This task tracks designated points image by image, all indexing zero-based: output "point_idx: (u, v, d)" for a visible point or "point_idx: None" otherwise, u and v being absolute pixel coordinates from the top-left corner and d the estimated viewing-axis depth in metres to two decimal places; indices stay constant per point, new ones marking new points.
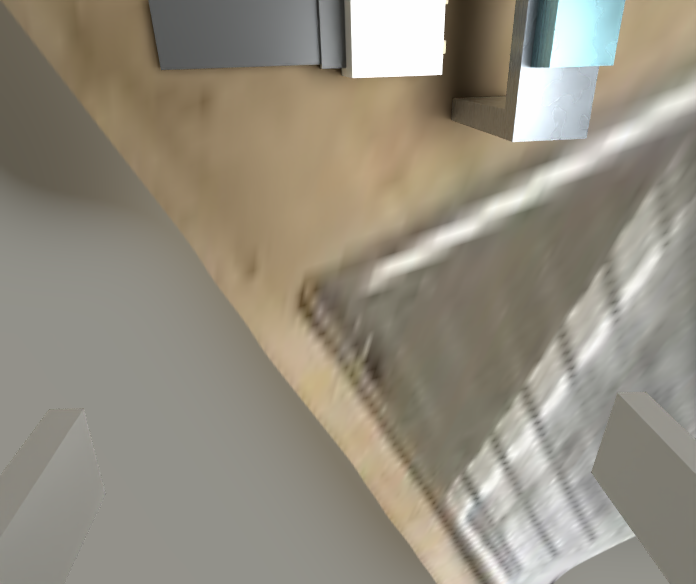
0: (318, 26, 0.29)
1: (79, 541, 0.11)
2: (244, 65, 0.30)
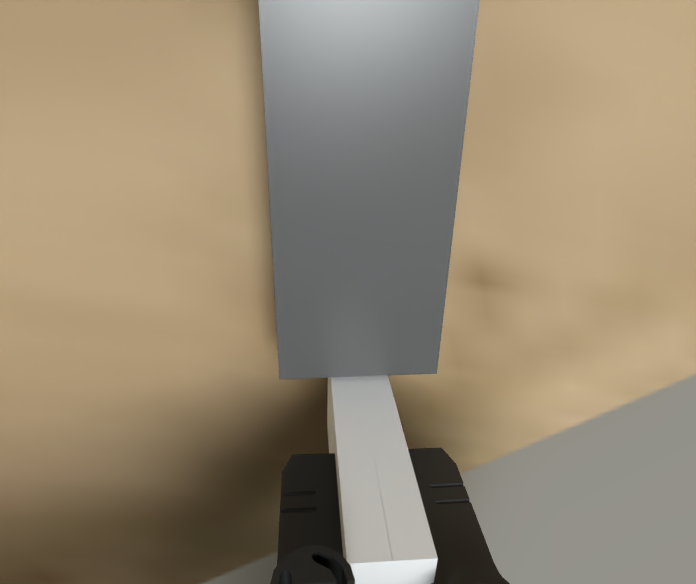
0: None
1: None
2: (456, 169, 0.10)
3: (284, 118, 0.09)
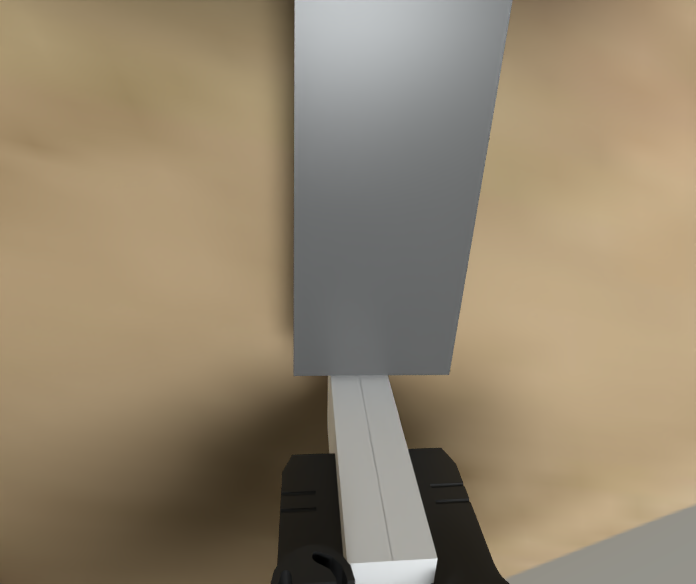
0: None
1: None
2: (479, 173, 0.10)
3: (313, 115, 0.09)
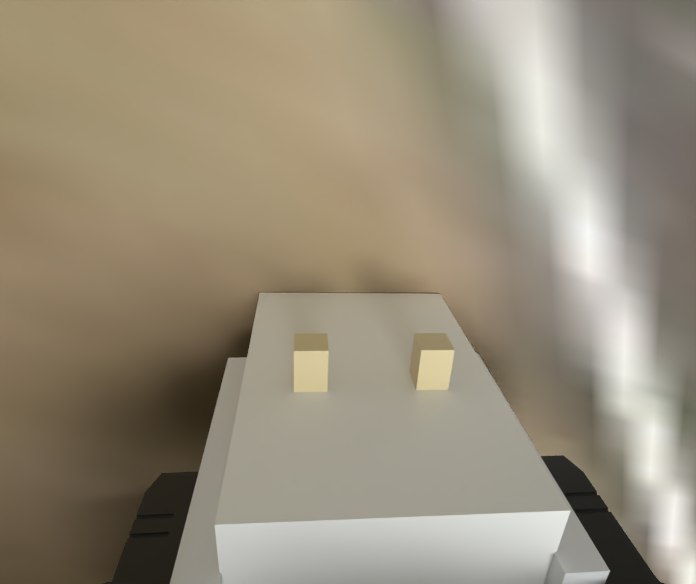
0: None
1: None
2: None
3: None
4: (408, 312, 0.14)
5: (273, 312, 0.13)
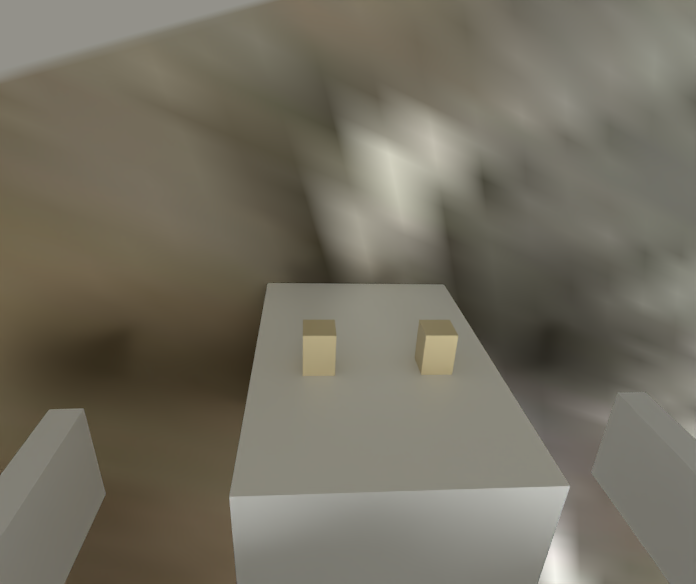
0: None
1: (79, 541, 0.11)
2: None
3: None
4: (413, 301, 0.14)
5: (281, 301, 0.13)
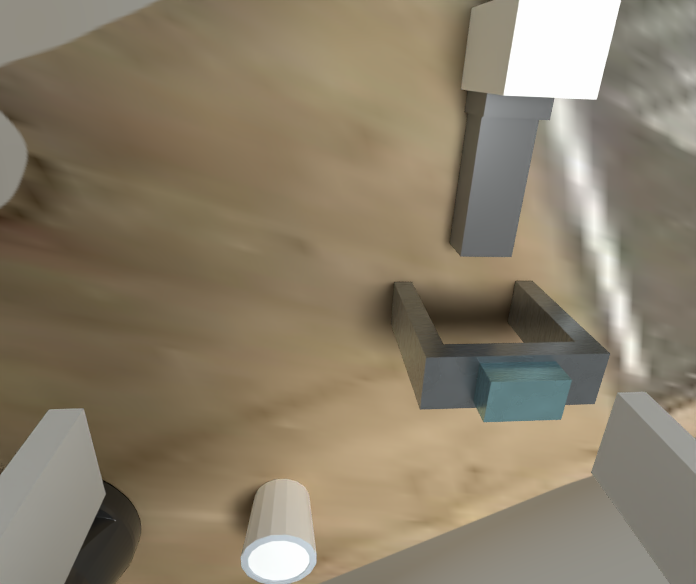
0: (509, 118, 0.32)
1: (79, 541, 0.11)
2: (523, 189, 0.34)
3: (478, 174, 0.34)
4: None
5: None
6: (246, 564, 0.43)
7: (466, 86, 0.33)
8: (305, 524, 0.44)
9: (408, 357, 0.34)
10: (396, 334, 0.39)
